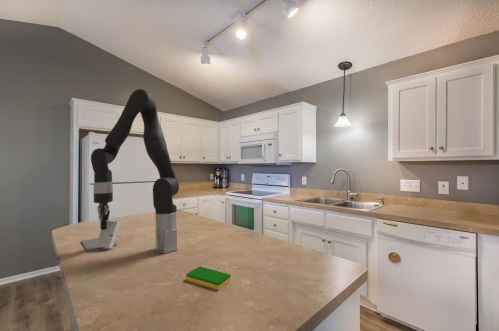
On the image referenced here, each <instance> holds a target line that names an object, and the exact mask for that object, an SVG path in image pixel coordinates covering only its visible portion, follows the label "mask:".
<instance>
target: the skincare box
mask: <svg viewBox="0 0 499 331" xmlns="http://www.w3.org/2000/svg"><path fill="white" fill-rule="evenodd" d="M120 225H121V222H119V221H115V220H109V219H108V220H107V229H104V230H101V229H100V233H99V235H98V237H97V238H98V241H97V244H96V247H104V248H103V249H112V248H114V246H113V244H114V242H116V241H115V240H116V237H117V234H118V231H119V228H120Z"/></svg>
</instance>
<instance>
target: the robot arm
mask: <svg viewBox="0 0 499 331" xmlns="http://www.w3.org/2000/svg"><path fill="white" fill-rule="evenodd" d="M139 113H140V116H141V118H142V119H141V120H142V122H143V134H142V136H143V137H142V138H143V144H144V147H145V151H146V153H147V155H148V157H149V158H150V160H151V161H152V163H153V164H154V166H155V168H156V169H157V171H158V175H159V178H157V179H156V180H155V181H154V183H153V185H152V200H153V201H152V203H153V204H152V205H153V208H154V211H155V215H154V216H155V252H157V253H159V254H167V253H171V252H174V251H177V250H178V226H177V224H178V223H177V222H178V221H177V216H178V215H177V213H178V212H177V207H178V206H177V205H176V204H174V202H173V196H175V195H178V192H179V189H180V184H179V181H178V177H177V176H176V173H175V171H174V168H173V165H172V162H171V159H170V158H171V157H170V154H169V151H168V147H167V141H166V139H165V136H164V132H163V129H162V126H161V124H160V121H159V115H158V107H157V102H156V100H155V98H154V96H152V95H151V94H150V93H149V92H147V91H146V90H144V89H142V88H141V89H140V88H138V89H135V90H134V91H133V92H131V95H129V97H128V100H127V102H126V105H125V106H124V108H123V110H122V112H121V114H120V116H119V117H118V120H117V121H116V123H115V125H114V126H113V128H112V129H111V130H110V131H109V133H108V134H107V135H106V138H105V139H104V142H105V145H104V147H103V148H101V147H100V148H99V147H98V148H96V149H94V150H93V151H92V152H91V155H90V162H91V163H90V164H91V167H92V170H93V173H94V174H93V176H94V177H93V181H94V182H93V203H94V204H98V206H97V214H98V220H99V221H100V224H99V226H100V231H101V230H104V229H107V220H108V221H109V217H110V212H111V211H110V206H109V204H108V203H111V202H113V198H114V194H113V193H114V189H113V188H114V187H113V186H114V185H113V172H112V171H113V170H111V169H109V165H108V164H111V163H112V162H114V160H115V159H116V157H117V156H118V153H119V151H120V149H121V147H122V145H123V144H124V142H125V141H126V140H127V139H128V137H129V135H130V133H131V130H132V126H133V123H134V121H135V119H136V118H137V116H138V115H139Z"/></svg>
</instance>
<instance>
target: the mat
mask: <svg viewBox="0 0 499 331" xmlns="http://www.w3.org/2000/svg"><path fill="white" fill-rule="evenodd" d="M98 238H99V237H95V238H94V237H93V238H90V239H84V240H81V241H80V242H81V244H82V245H83V247H84V248H85V250H86V251H87V252H92V251H97V250H101V249H105V248H104V247H96V244H97V241H98ZM115 246H118V243H116V241H114V244H113V247H115Z"/></svg>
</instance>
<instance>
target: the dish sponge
mask: <svg viewBox="0 0 499 331" xmlns="http://www.w3.org/2000/svg"><path fill="white" fill-rule="evenodd" d="M231 275H232V274H230V273H228V272H227V273H225V272H222V271H218V270H215V269H210V268H208V267H204V266H197V267H196V268H194V269H192V270H190V271H189V272H187V273H186V274H185V276H186V277H185V280H186V281H188V282H191V283H194V284H197V285H200V286H204V287H206V288H207V287H208V288H210V289H213V290H217V291H219V290H221V289H222V288H224V286H226V285H227V284H228V283H229V282H231V280H232V276H231Z"/></svg>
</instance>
